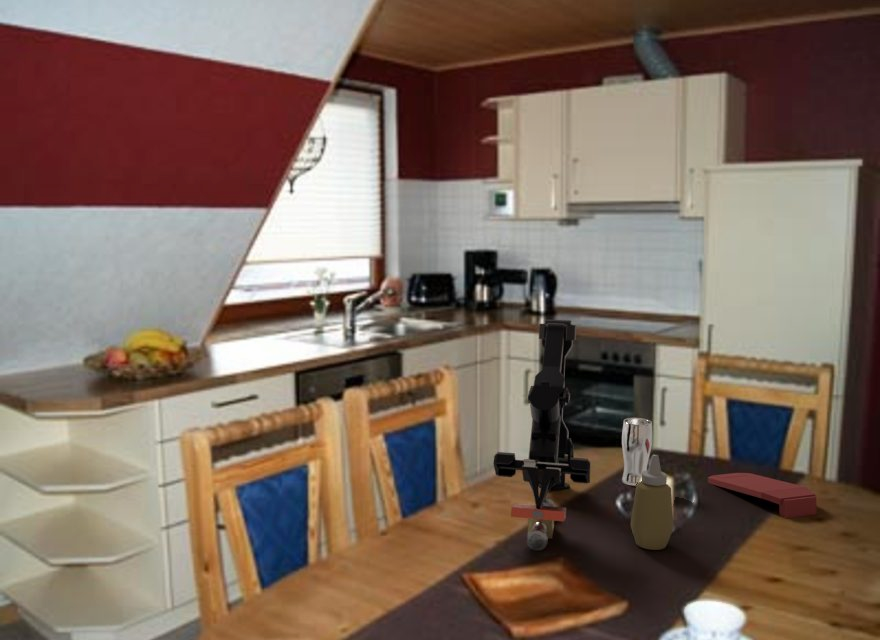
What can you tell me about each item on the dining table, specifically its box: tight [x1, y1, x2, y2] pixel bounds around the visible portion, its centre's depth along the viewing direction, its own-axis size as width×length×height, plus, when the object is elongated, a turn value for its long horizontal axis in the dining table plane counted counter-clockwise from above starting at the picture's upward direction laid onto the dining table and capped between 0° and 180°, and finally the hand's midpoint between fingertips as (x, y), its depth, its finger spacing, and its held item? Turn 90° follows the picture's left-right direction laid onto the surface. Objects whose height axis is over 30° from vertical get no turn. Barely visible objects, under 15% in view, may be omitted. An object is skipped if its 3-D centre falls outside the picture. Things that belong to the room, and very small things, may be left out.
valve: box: [526, 497, 556, 552], centre depth 161 cm, size 18×5×4 cm, turn 168°
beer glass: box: [621, 417, 653, 487], centre depth 190 cm, size 7×7×15 cm
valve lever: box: [510, 503, 567, 522], centre depth 156 cm, size 2×10×11 cm
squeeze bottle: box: [629, 454, 674, 551], centre depth 154 cm, size 8×8×18 cm
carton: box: [707, 472, 818, 519], centre depth 183 cm, size 12×5×25 cm
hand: (538, 507), depth 152 cm, fingers closed, pressing on valve lever
